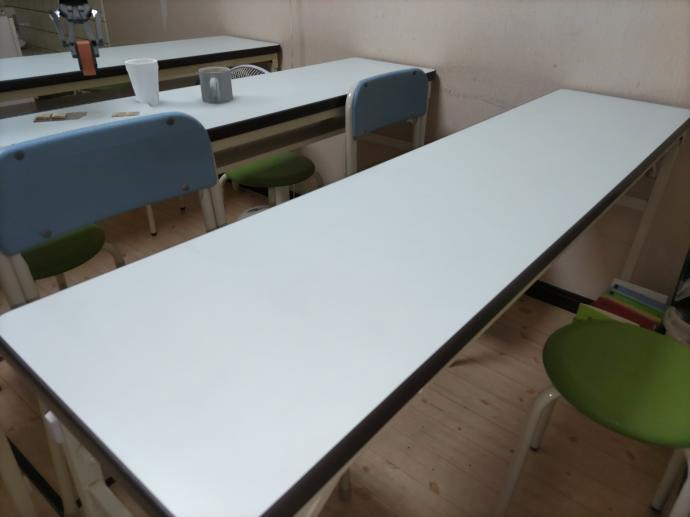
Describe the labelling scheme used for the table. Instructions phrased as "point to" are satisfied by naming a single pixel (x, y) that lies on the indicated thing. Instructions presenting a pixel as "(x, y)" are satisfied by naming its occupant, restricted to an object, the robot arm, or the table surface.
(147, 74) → the foam cup
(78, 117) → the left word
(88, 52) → the orange rectangular block
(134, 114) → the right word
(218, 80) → the coffee mug
